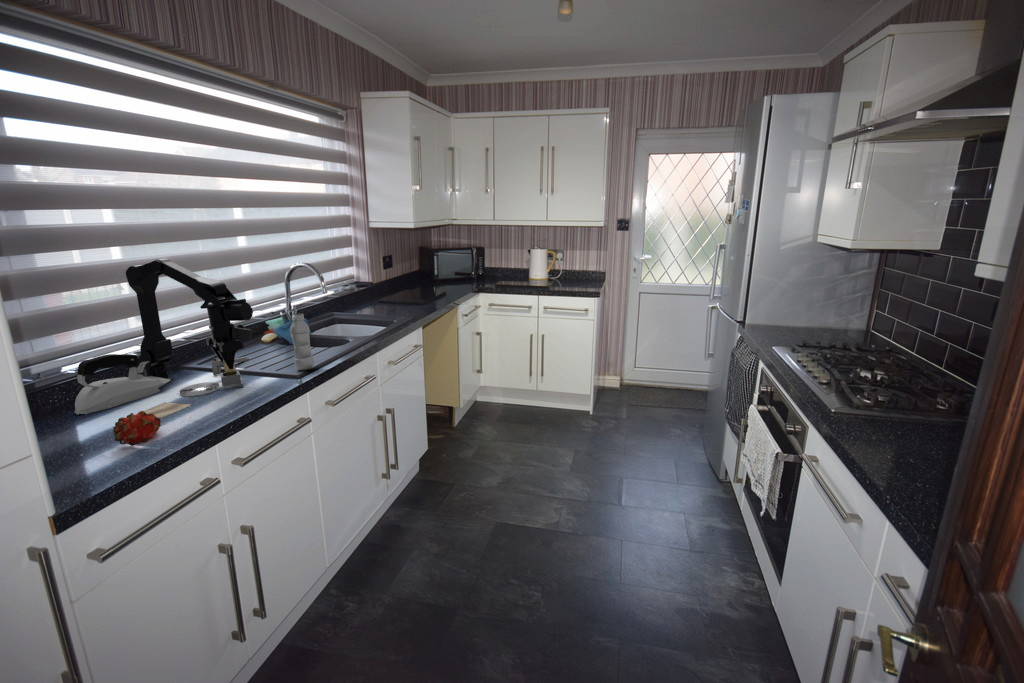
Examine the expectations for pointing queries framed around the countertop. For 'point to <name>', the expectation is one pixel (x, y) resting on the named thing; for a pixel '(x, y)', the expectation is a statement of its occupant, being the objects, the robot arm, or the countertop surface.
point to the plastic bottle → (301, 343)
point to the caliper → (218, 364)
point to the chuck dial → (213, 385)
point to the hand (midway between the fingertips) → (229, 368)
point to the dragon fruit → (136, 428)
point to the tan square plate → (165, 409)
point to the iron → (113, 383)
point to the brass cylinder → (228, 371)
